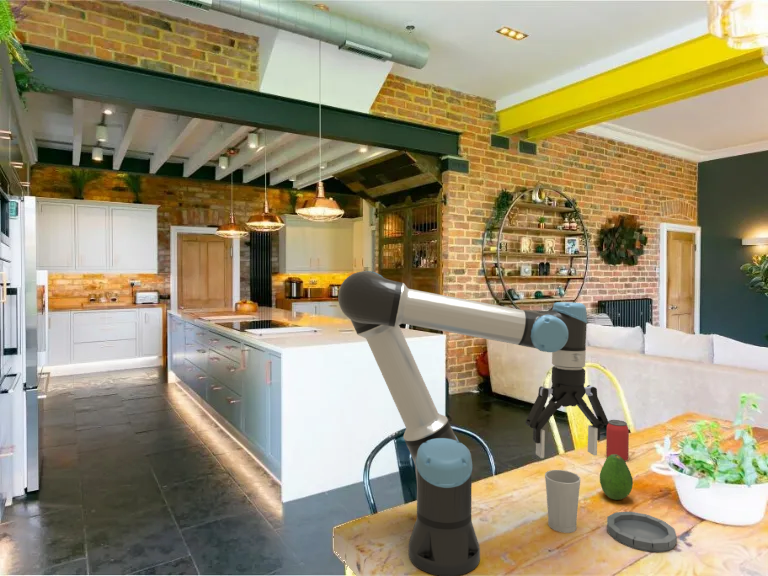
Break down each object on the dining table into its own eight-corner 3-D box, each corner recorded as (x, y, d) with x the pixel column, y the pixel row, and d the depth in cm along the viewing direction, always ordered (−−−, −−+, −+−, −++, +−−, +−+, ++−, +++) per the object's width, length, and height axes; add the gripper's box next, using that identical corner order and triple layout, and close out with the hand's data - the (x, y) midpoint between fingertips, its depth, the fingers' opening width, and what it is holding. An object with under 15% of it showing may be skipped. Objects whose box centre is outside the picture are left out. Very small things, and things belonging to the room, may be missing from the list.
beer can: (611, 453, 165) (612, 418, 164) (632, 459, 160) (632, 422, 159) (602, 458, 160) (602, 421, 160) (622, 464, 155) (623, 426, 155)
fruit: (632, 495, 133) (632, 451, 133) (633, 507, 126) (633, 461, 126) (599, 490, 137) (600, 447, 136) (599, 502, 129) (599, 457, 129)
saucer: (630, 554, 105) (630, 544, 105) (595, 521, 119) (595, 513, 119) (690, 550, 107) (690, 541, 107) (649, 518, 121) (649, 510, 121)
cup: (583, 536, 112) (583, 484, 112) (546, 532, 114) (547, 481, 114) (576, 519, 120) (577, 471, 120) (542, 516, 122) (543, 468, 122)
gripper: (526, 370, 111) (524, 463, 112) (625, 369, 115) (623, 458, 116) (512, 364, 118) (510, 451, 119) (606, 363, 123) (604, 447, 123)
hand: (566, 455), depth 117 cm, fingers open, 13 cm apart
